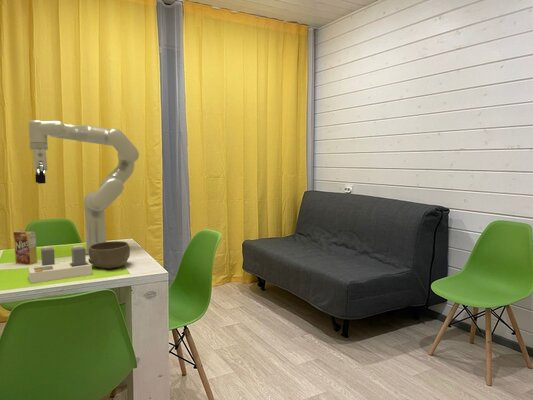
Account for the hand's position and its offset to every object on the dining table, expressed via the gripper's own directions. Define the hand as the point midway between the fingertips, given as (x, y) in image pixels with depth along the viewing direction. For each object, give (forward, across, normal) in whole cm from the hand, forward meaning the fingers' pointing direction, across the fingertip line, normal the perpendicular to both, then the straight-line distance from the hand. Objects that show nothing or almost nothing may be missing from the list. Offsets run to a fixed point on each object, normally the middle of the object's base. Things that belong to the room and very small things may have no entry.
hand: (40, 182), depth 195 cm
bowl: (+37, -33, -23) cm, 55 cm away
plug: (+36, -27, +1) cm, 45 cm away
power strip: (+37, -40, -2) cm, 54 cm away
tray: (+37, -27, +1) cm, 46 cm away
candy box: (+37, -8, +8) cm, 39 cm away
